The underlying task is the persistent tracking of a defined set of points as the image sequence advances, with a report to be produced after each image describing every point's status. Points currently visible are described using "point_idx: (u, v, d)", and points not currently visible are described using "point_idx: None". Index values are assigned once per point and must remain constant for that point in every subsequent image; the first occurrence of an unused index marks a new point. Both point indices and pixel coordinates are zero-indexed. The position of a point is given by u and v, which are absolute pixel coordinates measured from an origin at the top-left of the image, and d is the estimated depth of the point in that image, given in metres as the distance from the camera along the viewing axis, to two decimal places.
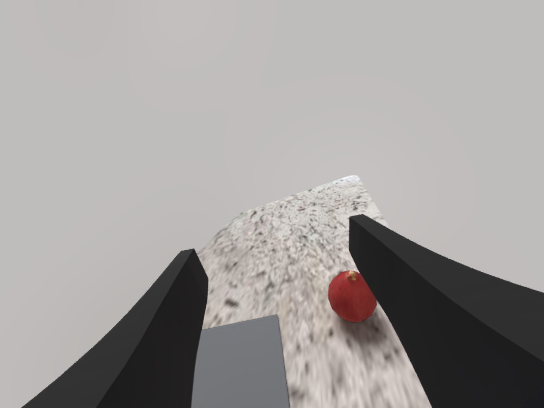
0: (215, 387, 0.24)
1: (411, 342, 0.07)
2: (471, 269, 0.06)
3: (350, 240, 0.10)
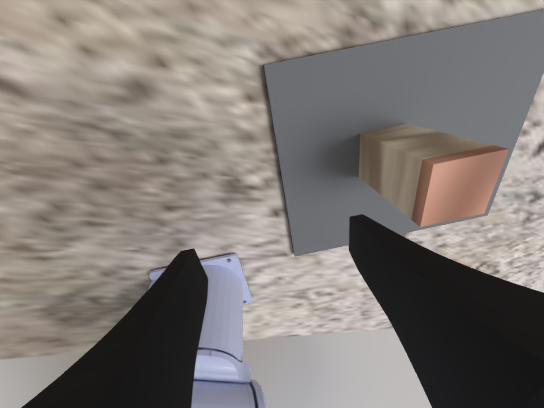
0: None
1: (411, 342, 0.07)
2: (471, 269, 0.06)
3: (350, 240, 0.10)
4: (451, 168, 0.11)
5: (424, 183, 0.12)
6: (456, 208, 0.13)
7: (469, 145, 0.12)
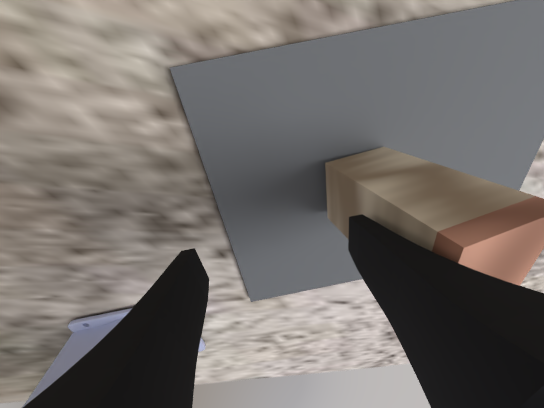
0: None
1: (410, 342, 0.07)
2: (470, 269, 0.06)
3: (349, 240, 0.10)
4: (489, 248, 0.06)
5: None
6: None
7: (497, 195, 0.08)
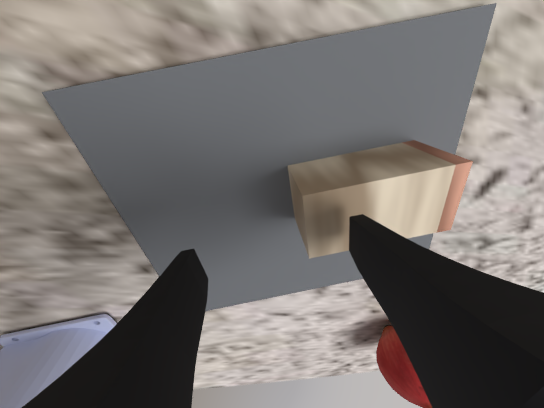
0: None
1: (411, 342, 0.07)
2: (471, 269, 0.06)
3: (350, 240, 0.10)
4: None
5: (457, 186, 0.11)
6: None
7: (401, 148, 0.13)
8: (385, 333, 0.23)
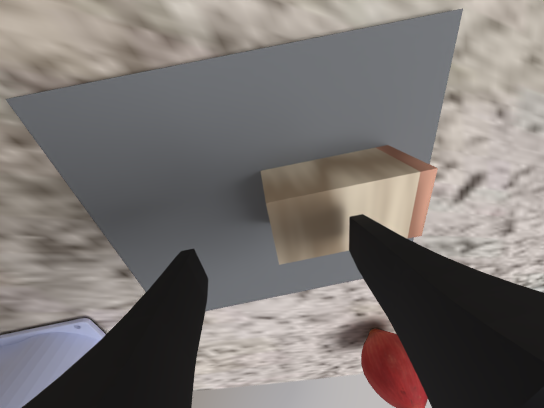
0: None
1: (411, 342, 0.07)
2: (471, 269, 0.06)
3: (350, 240, 0.10)
4: None
5: (424, 192, 0.11)
6: None
7: (373, 153, 0.13)
8: (370, 336, 0.23)
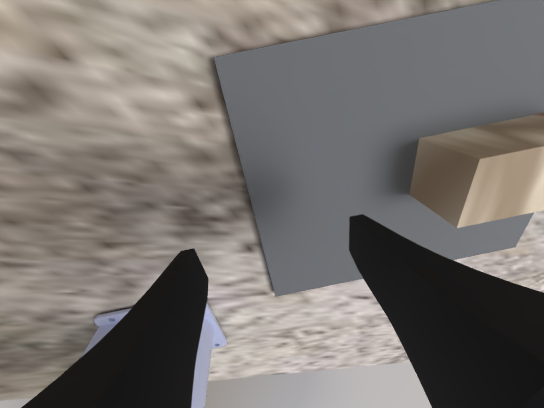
0: None
1: (411, 342, 0.07)
2: (471, 269, 0.06)
3: (350, 240, 0.10)
4: None
5: None
6: None
7: (540, 118, 0.13)
8: None
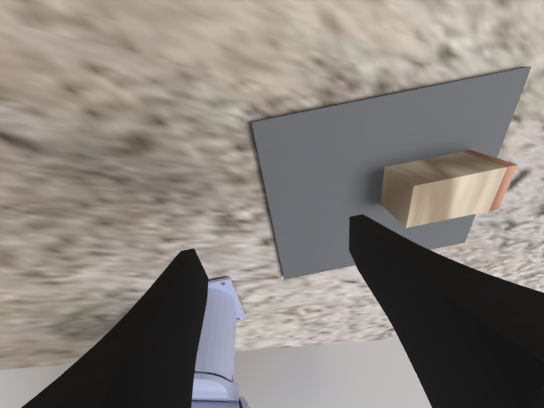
0: None
1: (411, 342, 0.07)
2: (471, 269, 0.06)
3: (350, 240, 0.10)
4: None
5: (506, 180, 0.17)
6: None
7: (463, 155, 0.19)
8: None
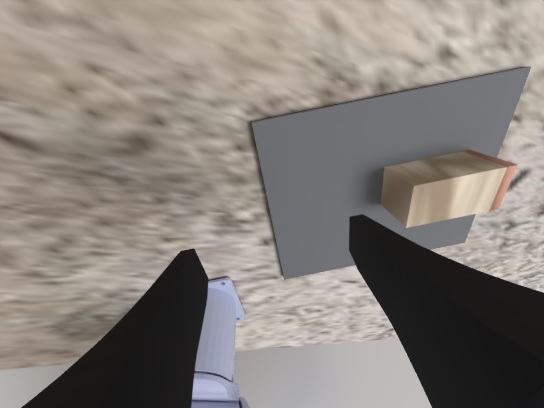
0: None
1: (411, 342, 0.07)
2: (471, 269, 0.06)
3: (350, 240, 0.10)
4: None
5: (506, 180, 0.17)
6: None
7: (463, 155, 0.19)
8: None
